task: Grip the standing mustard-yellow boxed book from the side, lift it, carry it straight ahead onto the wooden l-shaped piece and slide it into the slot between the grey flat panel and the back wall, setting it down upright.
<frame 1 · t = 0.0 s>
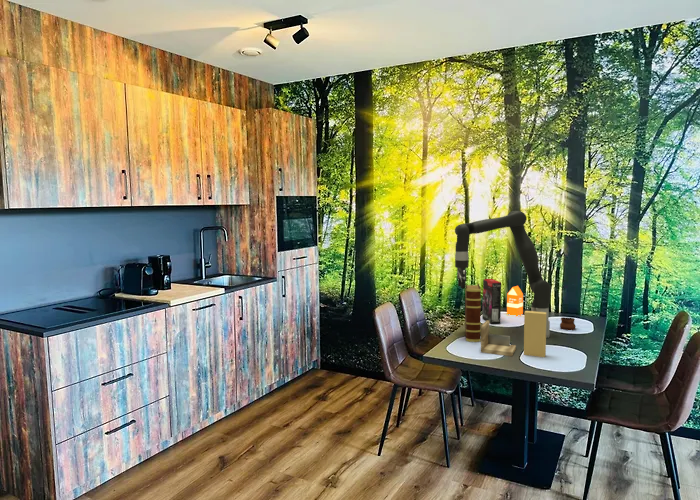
hand: (461, 287, 277), 29 cm above the table, tool pointing down, fingers open, 8 cm apart
wooden l-shaped piece: (498, 350, 252), on the table
graphics card box: (491, 321, 316), on the table
decorative book: (472, 337, 279), on the table
grey flat panel: (498, 348, 256), resting on wooden l-shaped piece
ceramic pot: (567, 329, 294), on the table
orange juice: (514, 314, 334), on the table
book: (534, 354, 243), on the table
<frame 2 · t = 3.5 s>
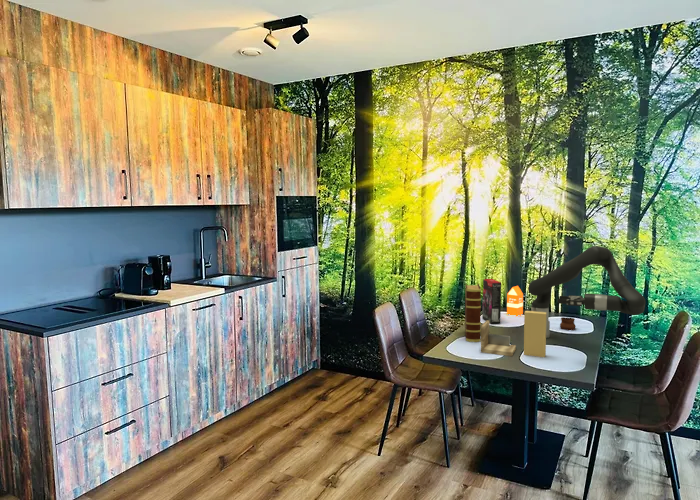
hand: (558, 299, 234), 30 cm above the table, tool horizontal, fingers open, 8 cm apart
nothing on the table moved.
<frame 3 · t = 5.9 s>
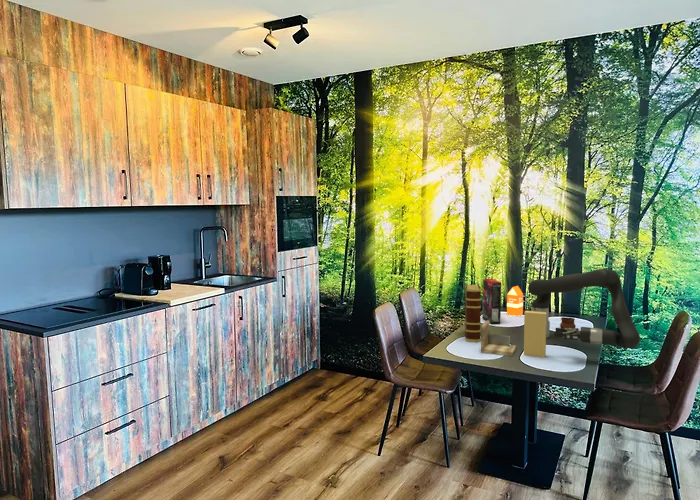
hand: (554, 331, 238), 13 cm above the table, tool horizontal, fingers open, 8 cm apart
nothing on the table moved.
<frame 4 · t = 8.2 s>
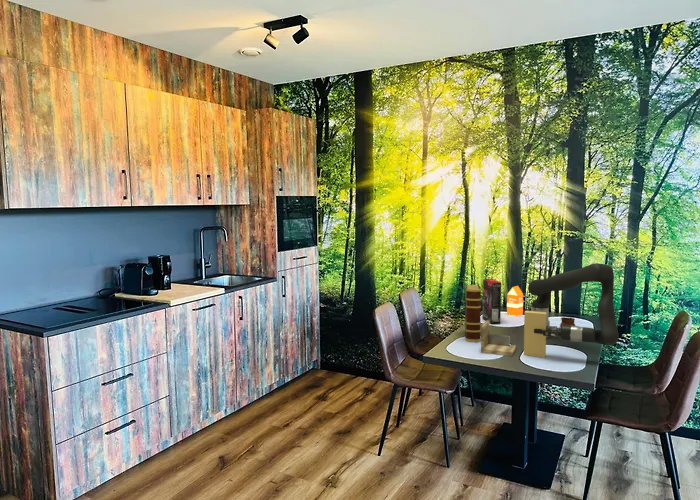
hand: (534, 329, 242), 13 cm above the table, tool horizontal, fingers closed on book, 4 cm apart
book: (534, 354, 243), on the table, touching gripper
everything else where it was.
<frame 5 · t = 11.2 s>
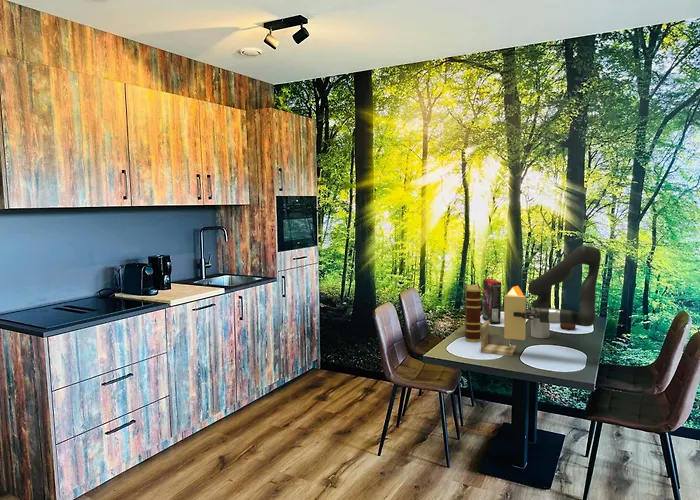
hand: (514, 313, 246), 21 cm above the table, tool horizontal, fingers closed on book, 4 cm apart
book: (514, 338, 247), point 8 cm above the table, touching gripper
everything else where it was.
when the fingers open (16 cm above the table, at t = 14.1 s): book stays where it is, resting on wooden l-shaped piece.
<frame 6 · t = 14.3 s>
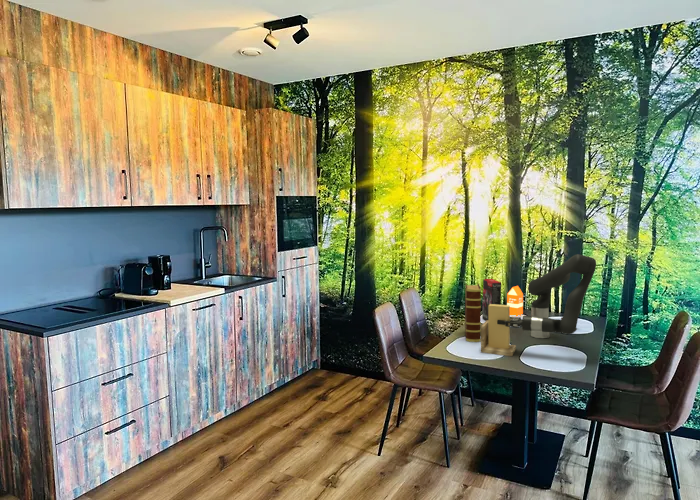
hand: (498, 320, 250), 16 cm above the table, tool horizontal, fingers open, 5 cm apart
book: (499, 346, 251), point 2 cm above the table, touching wooden l-shaped piece
everything else where it was.
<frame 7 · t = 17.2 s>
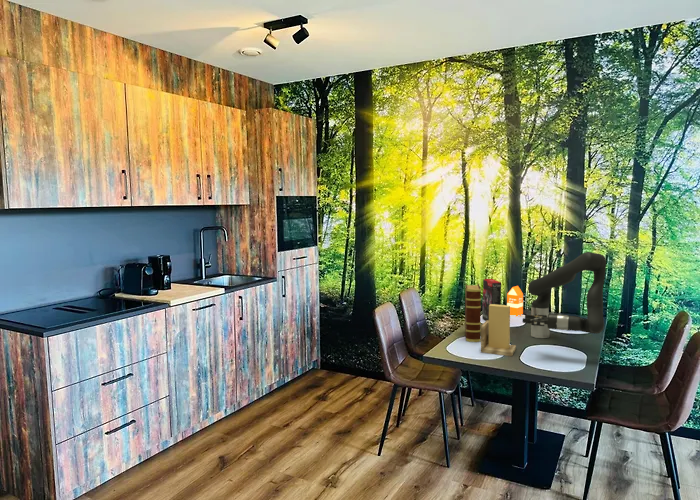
hand: (523, 318, 244), 18 cm above the table, tool horizontal, fingers open, 8 cm apart
nothing on the table moved.
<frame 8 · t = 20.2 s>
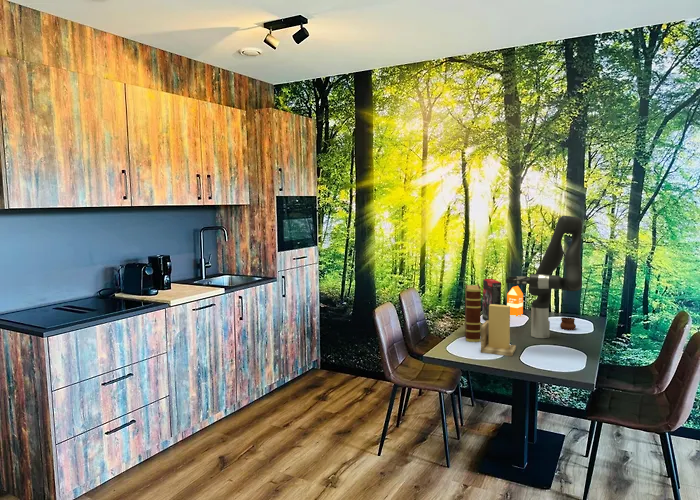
hand: (507, 279, 258), 36 cm above the table, tool horizontal, fingers open, 8 cm apart
nothing on the table moved.
at the end: book 0.4 cm off-centre on the wooden l-shaped piece, point 2.0 cm above the wooden l-shaped piece's base; book tilted 0°; the gripper is holding nothing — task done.
